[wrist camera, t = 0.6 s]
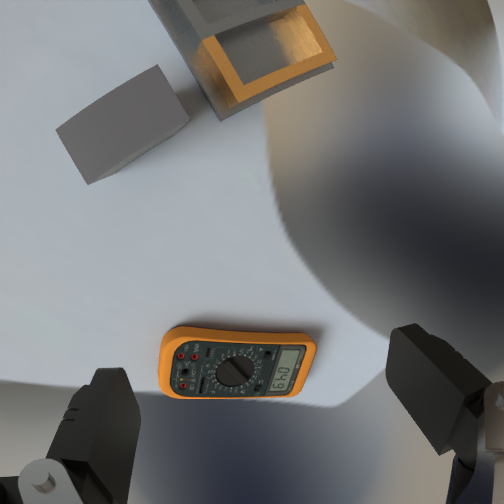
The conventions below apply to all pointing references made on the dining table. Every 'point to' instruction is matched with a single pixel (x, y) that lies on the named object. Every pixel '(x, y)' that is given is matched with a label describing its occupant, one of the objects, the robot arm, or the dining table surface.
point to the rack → (245, 47)
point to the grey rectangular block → (123, 125)
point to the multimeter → (233, 363)
